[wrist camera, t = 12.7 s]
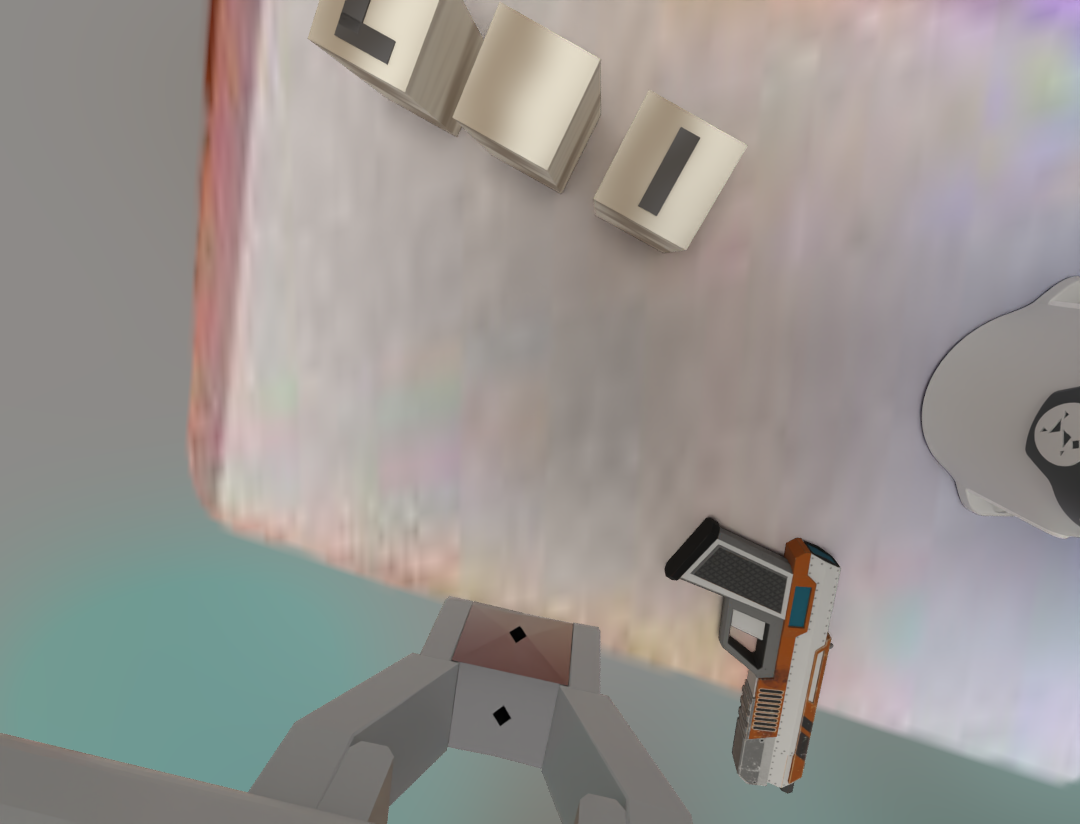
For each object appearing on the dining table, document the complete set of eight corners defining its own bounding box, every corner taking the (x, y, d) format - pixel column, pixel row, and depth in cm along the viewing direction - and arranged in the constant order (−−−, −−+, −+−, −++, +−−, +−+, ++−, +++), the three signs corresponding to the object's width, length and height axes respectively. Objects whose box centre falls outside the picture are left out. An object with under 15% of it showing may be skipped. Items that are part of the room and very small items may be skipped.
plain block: (600, 115, 38) (600, 59, 27) (561, 194, 39) (547, 170, 29) (528, 74, 37) (499, 1, 27) (492, 155, 39) (452, 117, 29)
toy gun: (668, 509, 46) (846, 521, 44) (644, 756, 54) (794, 774, 53) (672, 526, 43) (862, 539, 42) (646, 783, 52) (804, 803, 50)
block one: (708, 175, 38) (750, 142, 27) (663, 253, 40) (686, 250, 29) (636, 135, 38) (650, 85, 27) (595, 215, 40) (593, 198, 29)
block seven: (492, 52, 37) (449, -31, 27) (457, 137, 39) (403, 91, 29) (418, 11, 37) (345, -90, 26) (386, 98, 39) (306, 37, 28)
